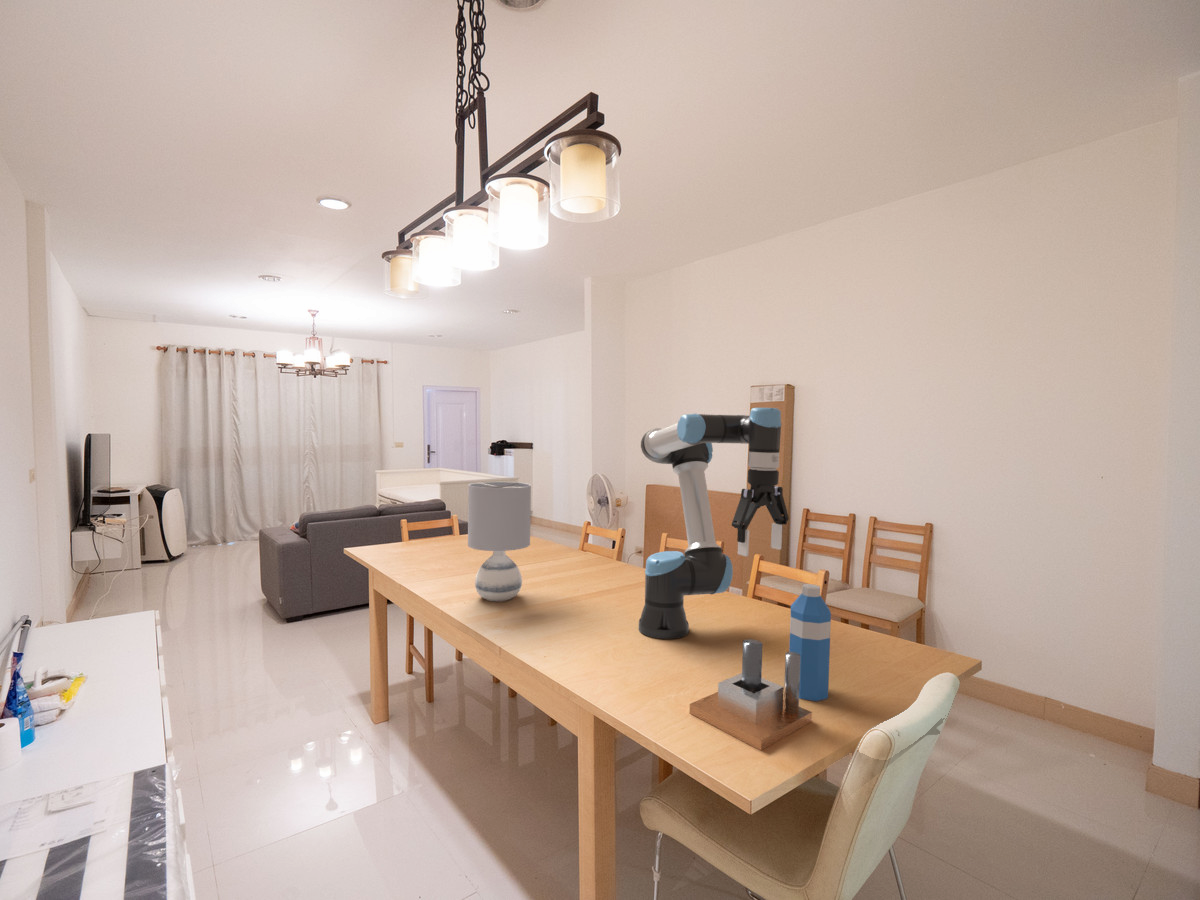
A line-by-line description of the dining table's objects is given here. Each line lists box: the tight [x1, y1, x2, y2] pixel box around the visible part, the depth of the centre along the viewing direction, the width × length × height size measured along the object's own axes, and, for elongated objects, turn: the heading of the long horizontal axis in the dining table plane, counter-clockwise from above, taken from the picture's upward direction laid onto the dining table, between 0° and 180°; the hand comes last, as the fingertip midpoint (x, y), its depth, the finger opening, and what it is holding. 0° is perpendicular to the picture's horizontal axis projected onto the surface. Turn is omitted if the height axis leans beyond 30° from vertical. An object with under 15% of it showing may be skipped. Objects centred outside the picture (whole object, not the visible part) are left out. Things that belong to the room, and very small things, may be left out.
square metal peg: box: [741, 638, 763, 693], centre depth 121 cm, size 4×4×14 cm
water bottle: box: [788, 583, 832, 702], centre depth 133 cm, size 9×9×25 cm
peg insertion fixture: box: [688, 651, 813, 751], centre depth 121 cm, size 18×18×14 cm
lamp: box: [467, 481, 532, 603], centre depth 202 cm, size 22×22×40 cm
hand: (759, 551), depth 145 cm, fingers open, 13 cm apart
